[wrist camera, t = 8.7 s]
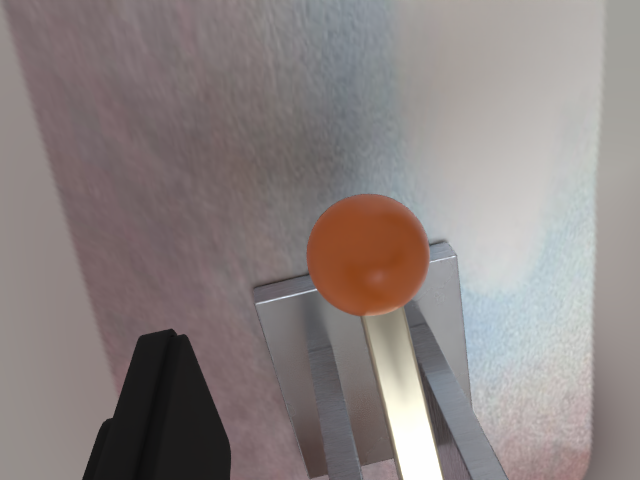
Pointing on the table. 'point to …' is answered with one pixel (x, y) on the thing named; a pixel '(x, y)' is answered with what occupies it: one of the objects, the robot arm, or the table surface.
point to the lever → (381, 310)
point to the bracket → (372, 376)
